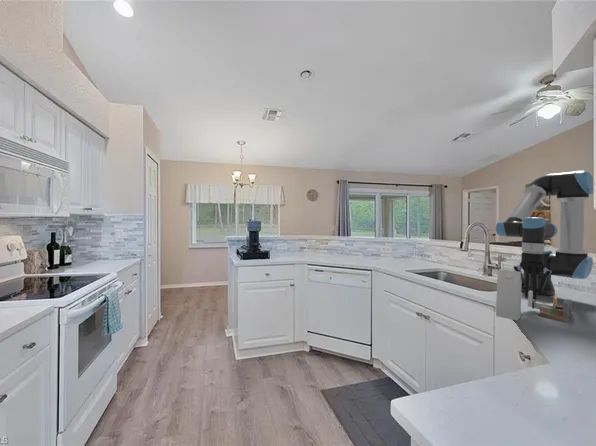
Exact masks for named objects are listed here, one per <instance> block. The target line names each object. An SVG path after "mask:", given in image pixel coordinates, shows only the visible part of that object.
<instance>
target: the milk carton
mask: <svg viewBox="0 0 596 446" xmlns="http://www.w3.org/2000/svg"><path fill="white" fill-rule="evenodd" d="M521 273H522V271H521V272H519V271H515V270H511V269H510V270H509V269H501V268H499V269H498V274H497V279H496V303H495V305H496V306H495V316H496V317H498V318H504V319H508V320H513V321H518V320H520V319H521V318H520V317H521V315H522V314H521V312H522V311H521V310H522V291H521V285H522V279H521Z"/></svg>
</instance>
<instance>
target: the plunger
mask: <svg viewBox="0 0 596 446" xmlns="http://www.w3.org/2000/svg"><path fill="white" fill-rule="evenodd" d="M552 300H553V301H552V303H546V302H540V301H536V300H534V301H533V302H532V307H531V309H537V310H540V306H545V307H550V308H555V309H558V306H559V305H558V297H554V298H553V299H552ZM545 303H546V304H545Z"/></svg>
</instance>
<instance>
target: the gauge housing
mask: <svg viewBox="0 0 596 446" xmlns="http://www.w3.org/2000/svg"><path fill="white" fill-rule="evenodd" d="M544 303H545V304H547V303H546V302H544ZM572 307H573V300H572V299H569V298H568V299H567V298H566V299H565V300H564V301H562V305H561V306H560V305H558V309H555V308H550V307H545V306H540V309H539V312H538V314H537V316H538V317H543V318H547V319H551V320H556V321H561V322H564V323H566V322H567V323H568V321H569V320H570V319H572V317H573V311H572V309H573V308H572Z"/></svg>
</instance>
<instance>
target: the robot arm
mask: <svg viewBox="0 0 596 446" xmlns="http://www.w3.org/2000/svg"><path fill="white" fill-rule="evenodd" d="M593 180H594V178H593V175H592V173H591V172H590V171H588V170H574V171H566V172H565V171H564V172H557V173H548V174H544V175H542V176H539V177H538V178H535V179H534V180H533V181H531V182H529V184H528V185H527V186H526V187H525V188H524V191H523V195H522V197H521V199H519V201H518V203H517V204H516V206H515V207H514V208H513V210H512V211H511V212H510V214H509V216H508V217H507V219H506V220H505V221H504V220H501V221H498V222H497V223H496V224H495V232H496V233H495V234H496V235H498V236H500V237H506V238H507V237H509V238H511V237H513V238H521V251H522V252H521V258H520V259H521V260H520V263H519V265H516V266H513V271H519V272H521V279H522V285H521V292H524V297H525V299H527V307H530V308H532V302H533V301H536V300H538V295H542V296H554V295H556V289H555V285H554V284H553V281H552V276H557V277H562V278H569V279H575V280H585V279H587V278H588V277H589V276H590V274H591V273H592V269H593V266H594V265H593V264H594V260H593V259H594V258H593V257H592V256H589V255H588V254H589V253H588V252H587V250H585V249H584V233H585V231H584V228H585V202H586V200H588V199H589V197H590V195H592V194H594V193H593ZM549 196H550V197H551V196H552V197H553V196H556V200H558V201H559V202H560V215H559V216H560V221H559V223H560V224H559V248H557V249H556V250H555V253H553V251H552V249H551V250H547V249H546V250H545V240H548V239H551V238H554V237H555V236H556V235H557V234H558V227H557V226H556V225H555V224H554V223H552V222H549V221H546V218H545V217H531V215H532V214H533V213H534V211H535V210H536V208H537V206H538V205H539V203H540V202H541V201H543V200H545V198H546V197H549ZM521 270H523V274H522V271H521Z"/></svg>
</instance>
